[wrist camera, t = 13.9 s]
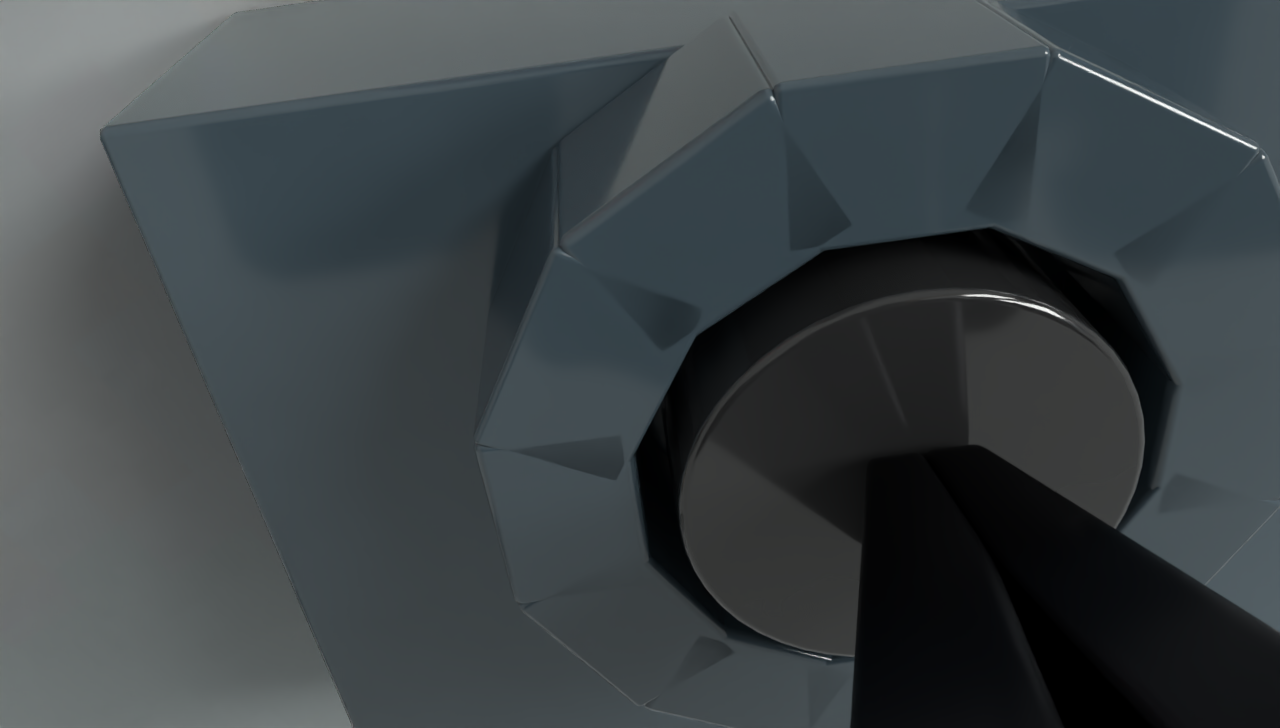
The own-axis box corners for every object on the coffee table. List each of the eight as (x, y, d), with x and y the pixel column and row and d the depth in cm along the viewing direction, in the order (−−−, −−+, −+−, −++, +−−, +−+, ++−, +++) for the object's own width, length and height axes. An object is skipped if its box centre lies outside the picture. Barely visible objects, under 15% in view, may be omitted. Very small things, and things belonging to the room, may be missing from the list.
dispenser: (1287, -162, 11) (1894, -71, 6) (1145, 525, 17) (1401, 872, 12) (222, -12, 11) (-54, 201, 6) (433, 623, 17) (378, 1010, 12)
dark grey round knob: (1058, 147, 8) (1190, 257, 7) (1021, 480, 10) (1114, 630, 9) (634, 206, 8) (651, 331, 7) (675, 527, 10) (699, 687, 9)
